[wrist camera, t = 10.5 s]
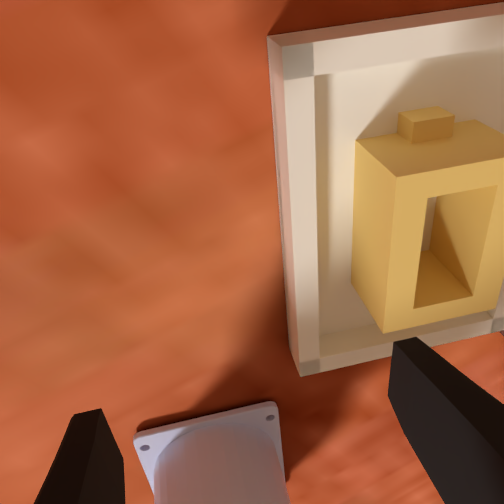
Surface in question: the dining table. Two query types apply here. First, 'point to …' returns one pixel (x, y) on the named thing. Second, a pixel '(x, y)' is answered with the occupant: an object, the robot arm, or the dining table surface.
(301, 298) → the tray
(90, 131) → the dining table surface
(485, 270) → the yellow hollow rectangular block
